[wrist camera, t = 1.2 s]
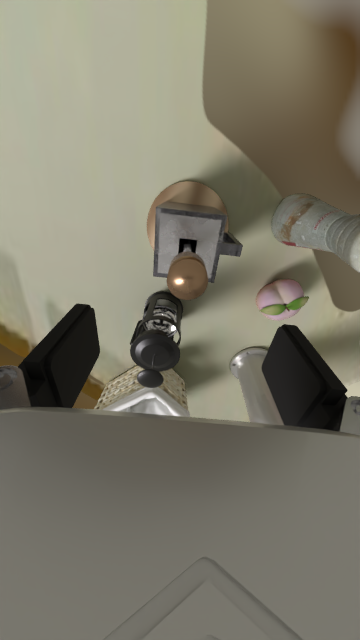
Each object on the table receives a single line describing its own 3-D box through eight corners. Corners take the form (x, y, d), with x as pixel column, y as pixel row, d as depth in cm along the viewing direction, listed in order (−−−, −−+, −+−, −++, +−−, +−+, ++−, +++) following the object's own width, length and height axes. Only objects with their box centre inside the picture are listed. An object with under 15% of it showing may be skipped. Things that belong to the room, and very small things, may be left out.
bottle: (304, 179, 37) (515, 162, 13) (324, 221, 40) (522, 268, 16) (260, 216, 40) (366, 254, 16) (283, 252, 43) (397, 327, 20)
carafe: (232, 209, 39) (254, 218, 26) (222, 257, 44) (236, 285, 31) (166, 201, 38) (155, 207, 26) (163, 250, 43) (153, 276, 30)
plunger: (209, 218, 33) (232, 247, 16) (203, 259, 36) (216, 316, 20) (169, 214, 33) (151, 238, 16) (166, 255, 36) (149, 309, 20)
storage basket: (160, 349, 59) (152, 392, 46) (192, 382, 65) (193, 427, 53) (102, 381, 67) (82, 425, 54) (136, 407, 73) (125, 452, 61)
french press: (174, 283, 48) (166, 348, 28) (191, 315, 52) (193, 390, 33) (132, 302, 51) (97, 373, 31) (151, 331, 55) (131, 408, 36)
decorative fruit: (257, 312, 51) (270, 336, 43) (246, 284, 48) (259, 305, 39) (296, 296, 49) (319, 318, 40) (288, 265, 45) (311, 283, 36)
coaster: (236, 187, 38) (237, 187, 37) (218, 272, 46) (219, 273, 45) (148, 176, 37) (147, 176, 36) (146, 264, 46) (146, 265, 45)
